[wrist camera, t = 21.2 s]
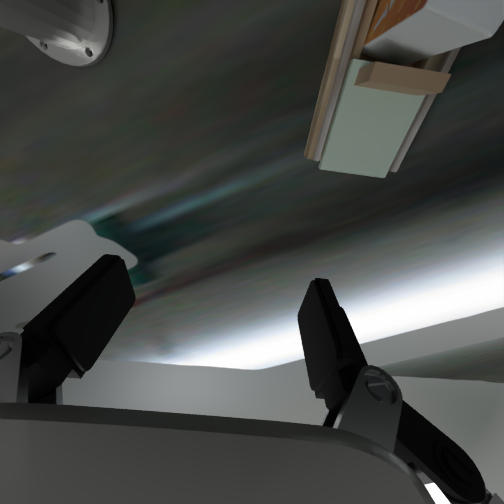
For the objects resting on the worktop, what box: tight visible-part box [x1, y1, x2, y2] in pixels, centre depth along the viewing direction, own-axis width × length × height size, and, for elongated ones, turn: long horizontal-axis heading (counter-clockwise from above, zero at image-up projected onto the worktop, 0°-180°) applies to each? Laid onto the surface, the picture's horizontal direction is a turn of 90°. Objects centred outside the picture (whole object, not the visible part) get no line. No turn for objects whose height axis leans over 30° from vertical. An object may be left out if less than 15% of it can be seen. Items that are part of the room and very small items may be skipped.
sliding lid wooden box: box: [304, 0, 461, 172], centre depth 24 cm, size 14×24×4 cm, turn 173°
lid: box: [319, 59, 451, 178], centre depth 25 cm, size 10×12×5 cm
